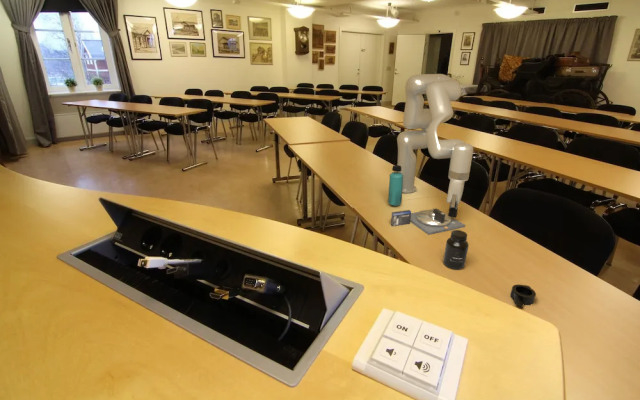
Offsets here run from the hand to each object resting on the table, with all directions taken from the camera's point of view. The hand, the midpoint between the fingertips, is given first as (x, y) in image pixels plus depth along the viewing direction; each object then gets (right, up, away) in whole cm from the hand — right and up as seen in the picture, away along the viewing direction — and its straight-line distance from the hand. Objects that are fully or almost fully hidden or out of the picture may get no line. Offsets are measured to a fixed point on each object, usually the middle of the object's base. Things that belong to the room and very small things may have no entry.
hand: (452, 216), depth 134 cm
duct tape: (+3, -22, -42) cm, 47 cm away
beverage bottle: (-20, +4, +20) cm, 28 cm away
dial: (-7, -1, +3) cm, 8 cm away
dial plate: (-7, -3, +3) cm, 8 cm away
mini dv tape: (-21, -4, +2) cm, 22 cm away
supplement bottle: (-10, -15, -26) cm, 32 cm away
